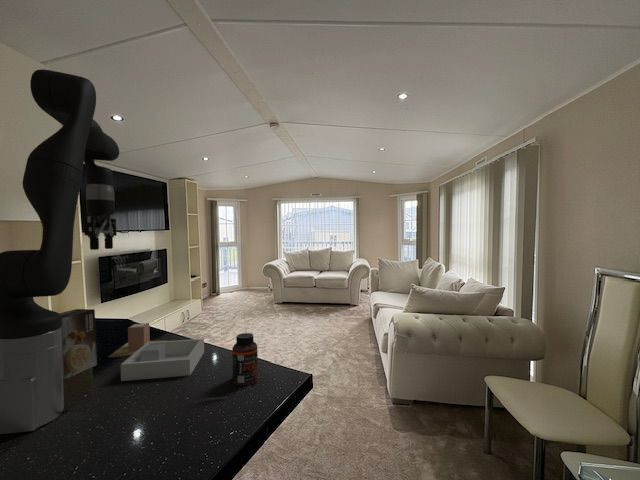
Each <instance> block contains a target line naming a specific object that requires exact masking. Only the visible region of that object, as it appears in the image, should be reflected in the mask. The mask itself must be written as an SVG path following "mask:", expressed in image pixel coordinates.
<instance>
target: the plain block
mask: <svg viewBox="0 0 640 480" xmlns="http://www.w3.org/2000/svg"><path fill="white" fill-rule="evenodd" d="M155 360H165V344H159V345H147V346H146V347H145V348H144V349H143V350H141V362H142V361H155Z"/></svg>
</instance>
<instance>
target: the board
mask: <svg viewBox="0 0 640 480" xmlns="http://www.w3.org/2000/svg"><path fill="white" fill-rule="evenodd" d="M162 341H167V340H166V339H161V340H150V342H162ZM136 351H138V350H132V351H128V342H126V343H125V344H124V345H122V346H121V347H119V348H118V349H116V350H114V352H113V353H111V354H110V355H109V356H108V357H107V358H108V359H111V358H124V357H125V358H126V357H130V356H132V355H133V354H134V353H135V352H136Z"/></svg>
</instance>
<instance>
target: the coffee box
mask: <svg viewBox="0 0 640 480" xmlns="http://www.w3.org/2000/svg"><path fill="white" fill-rule="evenodd" d="M58 313H59V314H60V315H61V320H62V361H63V380H66V379H69V378H70V377H74V376H75V375H77V374H80V373H82V372H84V371H86V370H88V369H91V368H93V367H96V366H97V365H98V359H97V358H98V357H97V356H98V355H97V337H96V336H97V335H96V330H97V329H96V312H95V309H94V308H93V309H92V308H91V309H90V308H89V309H88V308H87V309H86V308H76V309H71V310H67V311H62V312H58Z"/></svg>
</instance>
